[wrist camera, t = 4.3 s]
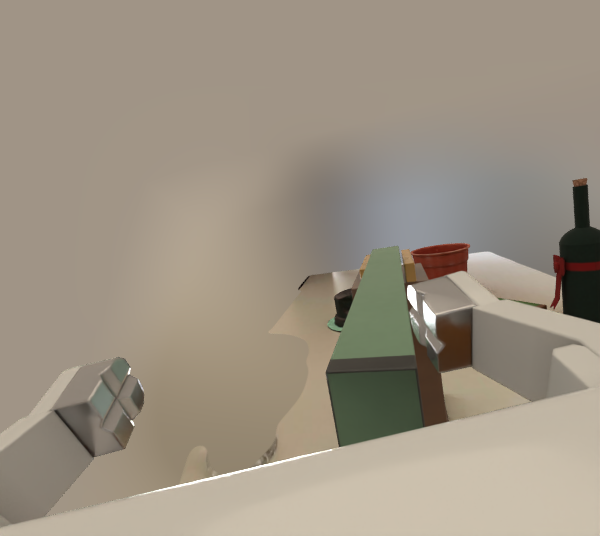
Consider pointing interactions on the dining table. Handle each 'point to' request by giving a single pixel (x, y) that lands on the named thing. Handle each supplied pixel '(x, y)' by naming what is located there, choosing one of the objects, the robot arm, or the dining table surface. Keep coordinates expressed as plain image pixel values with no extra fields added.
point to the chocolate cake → (341, 309)
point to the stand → (419, 348)
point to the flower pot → (442, 259)
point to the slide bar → (376, 358)
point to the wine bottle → (579, 262)
